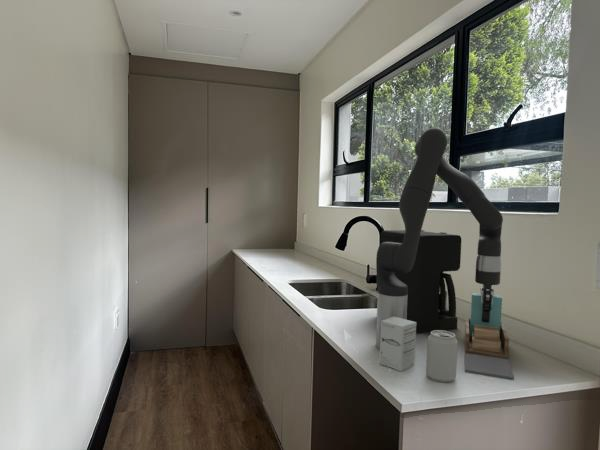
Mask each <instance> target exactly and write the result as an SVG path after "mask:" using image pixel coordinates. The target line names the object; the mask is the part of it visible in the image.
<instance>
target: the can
mask: <svg viewBox="0 0 600 450" xmlns="http://www.w3.org/2000/svg"><path fill="white" fill-rule="evenodd" d="M429 333H430V335H428V336H427V344H426V346H427V347H426V366H425V367H426V368H425V374H426V375H427V376H428V377H429V379H431V380H433V381H435V382H439V383H450V382H452V381H453V380H455V379H457V366H458V365H457V364H458V346H459V345H458V343H459V341H458V340H457V338H456V334H455V333H454V332H451V331H448V330H434V331H431V332H429Z"/></svg>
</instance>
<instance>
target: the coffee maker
mask: <svg viewBox="0 0 600 450" xmlns="http://www.w3.org/2000/svg"><path fill="white" fill-rule="evenodd" d="M404 235H405V229H404V230H402V229H401V230H396V229H395V230H394V229H393V230H392V229H391V230H385V229H384V230H382V231H381V233H380V244H382V243H383V242H394V243H402V242H403V239H404ZM461 257H462V237H461V235H459V234H452V233H451V234H450V233H448V232H441V231H439V232H435V231H434V232H433V231H425V230H424V229H423V230H422V229H421V233H420V238H419V243H418V249H417V254H416V259H415V262H414V265H413V268H412V269H411V271H410V272H409V273H397V272H394V274H395V276H396V277H397V278H398V279H399V280H400V281H401V282H403V283H405V284H406V285H407V286H408V300H407V320H410V321H414V322H417V324H416V334H418V335H420V334H427V333H430V332H431V331H434V330H444V331H448V330H457V329H458V317H457V300H456V298H457V297H456V290H455V284H454V281H453V277H452V275H451V273H446V272H456V271H459V270H460V268H461V260H462V259H461ZM446 289H447V290H446Z"/></svg>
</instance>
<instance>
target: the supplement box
mask: <svg viewBox="0 0 600 450" xmlns="http://www.w3.org/2000/svg"><path fill="white" fill-rule="evenodd" d="M416 324H417V322H414V321H410V320H406V319H402V318H398V317H391V318H388V319H385V320H382V321H381V337H380V350H379V361H378V364H379V365H382V366H385V367H388V368H391V369H394V370H397V371H398V372H403V371H405V370H407V369H409V368H411V367H413V366H414V365H415V356H416V355H415V354H416V353H415V352H416V339H417V338H416V336H417V335H416V334H417V333H416Z"/></svg>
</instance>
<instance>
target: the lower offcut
mask: <svg viewBox="0 0 600 450" xmlns="http://www.w3.org/2000/svg"><path fill="white" fill-rule="evenodd" d="M500 348H501V342H500V338H499V342H493V341H486V340H479V339H474V333H472V349H478V350H485V351H492V352H499V353H500Z"/></svg>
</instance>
